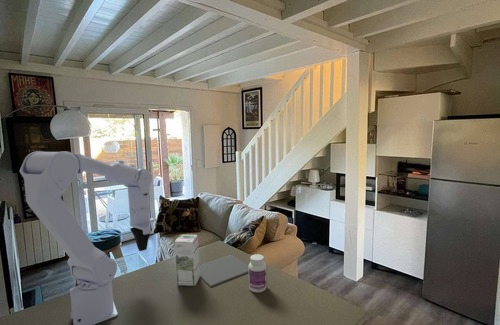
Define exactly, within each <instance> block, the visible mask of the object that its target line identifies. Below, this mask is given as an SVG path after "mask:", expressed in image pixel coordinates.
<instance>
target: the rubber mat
mask: <svg viewBox="0 0 500 325" xmlns="http://www.w3.org/2000/svg"><path fill="white" fill-rule="evenodd" d="M248 266H249V264H247V263H245V262H243V261H242V260H240V259H239V258H237V257H236V256H234V255H233V254H227V255H225V256H222V257H219V258H216V259H213V260H212V259H211V260H210V261H207V262H203V263H201V264H200V263H199V271H200V277H199V278H201V279H202V280H203V281H204V283H206V285H208V286H209V287H210V288H212V287H214V286H217V285H219V284H222V283H225V282H227V281H230V280H233V279H235V278H237V277H240V276H242V275H245V274H247V273H248Z"/></svg>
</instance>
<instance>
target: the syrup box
mask: <svg viewBox="0 0 500 325" xmlns="http://www.w3.org/2000/svg"><path fill="white" fill-rule="evenodd" d="M174 252H175V270H176V286H178V287H196V285H197V283H198V281H199V280H200V278H201V277H200V271H199V265H200V258H199V256H200V255H199V236H198V234H180V235H179V236H178V237H177V238H176V239H175V240H174Z"/></svg>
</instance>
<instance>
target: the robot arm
mask: <svg viewBox="0 0 500 325" xmlns="http://www.w3.org/2000/svg"><path fill="white" fill-rule="evenodd" d="M124 163H125V162H124V161H123V160H116V161H112V162H109V163H108V162H104V161H101V160H98V159H95V158H92V157H89V156H87V155H84V154H81V153H75V152H71V151H66V150H65V151H43V150H42V151H41V150H36V151H33V152H31V153H29V154H27V155H26V156H25V158H24V159H23V162H22V164H21V166H20V169H19V173H20V175H21V177H22V178H23V182H24V190H25V192H24V194H25V201H26V203H27V205H28V207H29V208H30V209H31V211H33V213H34V214H35V216H36V217H37V218H38V220H40V222H41V223H42V225H43V226H44V228H46V229H47V231H48V232H49V233H50V234H51V236H52V237H53V238H54V239H55V241H56V242H57V243H58V245H59V246H60V247H61V249H63V251H64V252H65V253H66V255H67V256H68V257H69V258H68V260H67V262H66V263H67V265H68V266H69V269H70V275H71V276H72V277H73V278H74V279H75V280H76V284H78V285H76V286H74V287H71V288H70V289H69V294H70V296H69V297H70V303H71V305H70V306H71V311H70V319H71V320H72V322H73V325H96V324H99V323H101V322H104V321H107V320H110V319H112V318H113V319H114V318H115V317H117V316H118V315H119V314H118V310H117V308H116V307H117V306H116V305H115V302H114V297H113V296H114V294H113V284H112V282H113V280H114V278H115V276H116V274H117V270H118V265H117V264H118V263H117V261H116V260H115V259H113V258H110V257H109V256H108V255H107V254H106V253H105V252H104V251H102V250H101V249H99V248H97V247H96V246H95V245H94V244H93V242H92V241H91V239H90V238H89V236H88V235H87V233H86V232H85V231H84V229H83V228H82V226H81V225H80V224H79V222H78V220H77V219H76V218H75V215H73V213H72V212H71V211H70V209H69V208H68V206H67V205H66V203H65V202H64V200H63V199H62V196H63V194H64V193H65V192H66V191H67V189H68V188H69V186H70V185H71V184H72V182H73V181H74V179H75V178H76V176H77V175H78V174H80V175H81V174H83V172H84V173H89V174H95V175H99V176H104V178H105V180H106V181H107V182H109V183H113V184H119V185H123V186H124V187H125V188H127V196H128V207H129V208H128V210H129V227H131V228H129V230H130V232H131V233H132V235H133V238H134V240H135V243H136V245H137V246H136V247H137V250H138V251H139V252H143V251H147V249H148V244H149V238H150V235H151V234H152V231H153V227H151V225H152V223H153V222H155V219H154V218H153V217H151V210H150V209H151V208H150V198H149V197H150V196H149V193H150V191H151V184H152V182H153V176H151V173H150V171H148V170H147V169H145V168H137V167H136V166H137V165H135V164H134V165H133V164H130V165H128V164H124Z"/></svg>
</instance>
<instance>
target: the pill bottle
mask: <svg viewBox="0 0 500 325" xmlns="http://www.w3.org/2000/svg"><path fill="white" fill-rule="evenodd" d="M249 261H250V262H249V264H248V288H249V290H250V291H251V292H252V293H262V292H264V291H265V290H266V289H267V264H266V263H265V256H264V255H262V254H258V253H257V254H252V255H250V260H249Z"/></svg>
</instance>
